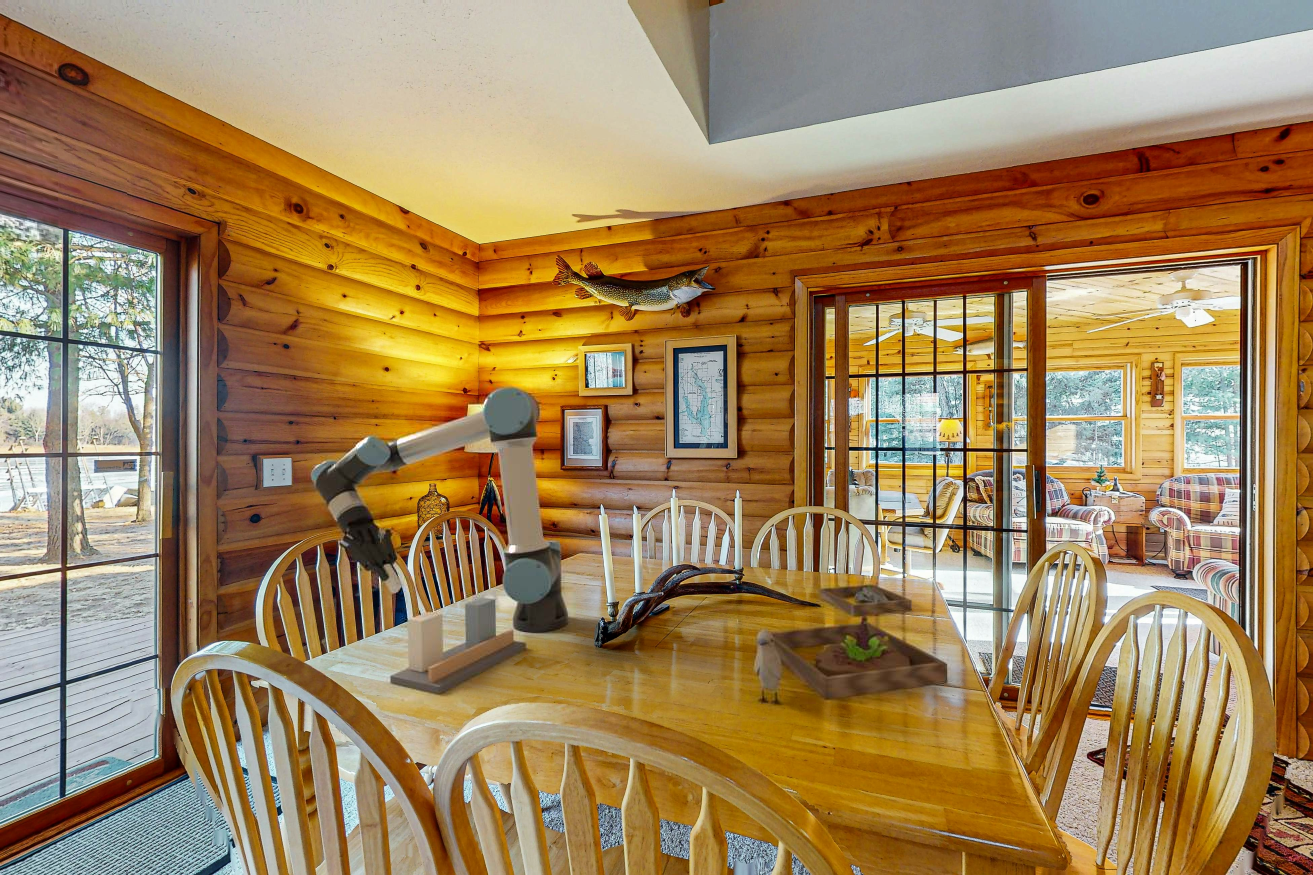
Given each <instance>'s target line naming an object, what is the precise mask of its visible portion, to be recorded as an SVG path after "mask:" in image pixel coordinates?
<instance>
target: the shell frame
mask: <svg viewBox="0 0 1313 875" xmlns="http://www.w3.org/2000/svg"><path fill="white" fill-rule="evenodd" d="M868 586H870V587H872V588H874V589H875V590H877V591H878V592H879V593H881V594H882V595H884V596H885V597H886V598H887V599H888V600H889V601H886V602H875V603H865V604H863V603H858V604H857V603H852V602H850V601H849V600H847V599H844V598H850V597H855V595H856V594H857V592H860V591H862V590H863V587H868ZM818 599H819V600H821V601H822V602H825V603H826V604H829V605H831V606H832V607H834V608H836V609H839V610H840V611H842V612H844V613H846V614H848V615H850V616H852V617H859V616H860V617H863V616H871V615H872V616H873V615H879V614H889V613H898V612H911V611H912V599H909V598H907V597H905V596H902V595H899V594H898V593H894V591H893V592H892V591H890V590H888V589H885V588H883V587H880V586H877V585H875V584H873V583H871V584H860V585H848V586H837V587H826V588H818Z"/></svg>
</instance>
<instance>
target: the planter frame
mask: <svg viewBox="0 0 1313 875" xmlns="http://www.w3.org/2000/svg"><path fill="white" fill-rule="evenodd" d="M860 625H861V622H859V623H857V622H856V623H849V624H848V623H847V624H839V625H837V624H836V625H828V626H819V627H811V628H810V627H809V628H808V627H807V628H799V629H789V630H781V631H772V632H771V631H769V632H770V633H771V634H772V635H773V641H774V647H775V649H776V651H777V653H778V655H779V658H780V660H781V665H782V666H784V667H786V668H787V669H788V670H789V671H790V672H791V673H793V675H795V676H797V678H798V679H800V680H801V681H803V683H805V684H806V685H807V686H808V687H810V689H811V690H813V691H815V692H816V693H817V694H818V695H819V696H820V697H821V698H822V699H824V700H827V701H828V700H835V699H839V698H840V699H841V698H848V697H853V696H854V697H855V696H861V695H863V696H864V695H869V694H877V693H884V692H891V691H897V690H904V689H910V688H911V689H912V688H922V687H926V686H933V685H941V684H947V683H948V662H945V661H943V660H942V659H940V658H938V657H935V656H933V655H932V654H930V653H928V652H926V651H924V650H922V649H920V648H918V647H916V646H914V645H912V644H910V643H909V642H906V641H905V640H902V639H901V638H900V637H897V636H895V635H894V634H892V633H889V632H887V631H885V630H883V629H881V628H880V627H877V626H876V625H874V624H871V623H870V622H869V621H868V622H867V623H864V627H865V629H864V630H865V634H866V637H868V636H870V635H871V634H873V633H876V632H877V633H882V634H885V635H886V636H887V637H888V642H883V641H882V637H881V636H880V635H878V636H874V637H876V638H877V640H879V644H878V645H877V646H879V647H882V646H888V647H887V648H890V649H894V650H896V651H898V652H900V653H903V654H905V655H907V656H909V658H910V664H911V666H906V667H898V668H891V669H883V670H875V671H867V672H859V673H852V674H844V675H836V676H828V677H827V676H826V675H824V674H823V673H822V672H820V671H819V670H818V668H817V667H816V666H814V665H812V664H811V663H809V662H808V661H807V660H806V659H804V658H803V657H802V656H801V655H799V654H798V653H797V652H795V651H794V650H792V649H795V648H796V649H797V648H798V649H799V648H806V647H814V646H822V645H823V646H824V645H832V644H836V643H840V642H845V639H846V640H847V638H846V636H847V635H848V636H850V635H851V634H852V633H853V632H854V631H858V632H859V633H860V628H861V627H860ZM855 639H857V635H856V634H855Z"/></svg>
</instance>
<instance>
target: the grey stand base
mask: <svg viewBox="0 0 1313 875" xmlns="http://www.w3.org/2000/svg"><path fill="white" fill-rule="evenodd" d="M514 639H515V638H514V629H508V630H506V631H504V632H502V633H500V634H496V636H495V637H493V638H491V639H489V640H487V641H484V642H482V643H480V644H478V645H476V646H474V647H471V648H469V649H467V650H466V641H465V642H463V643H461V644H459V645H456V646H455V647H454V646H453V647H452V648H450V649H448V650H445V651H443V661H441V662H439V663H437V664H435V665H433V666H430V667H428V670H426V671H424V672H419V671H414V670H409V667H407V668H405V669H402V670H400V671H399V672H396V673H394V674H391V675H390V677H389V678H390V684H394V685H397V686H402V687H405V688H410V689H415V690H419V691H423V692H426V693H427V692H428V693H431V694H435V695H441V694H443V693H445V692H447V691H448V690H450V689H452V688H454V687H456V686H458V685H460V684H462V683H464V682H465V680H466V681H468V680H469V679H471V678H473V677H475V676H477V675H479V674H480V672H481V673H483V672H484V670H485V671H487V670H488V669H491V668H492V667H494V666H496V665H498V664H500V663H502V662H504V661H505V660H507V659H509V658H511V657H513V656H515V655H517V654H519V653H521V652H523V651H524V650H526V649H527V642H525V641H520V640H514ZM486 669H487V670H486ZM482 671H483V672H482ZM478 673H479V674H478ZM476 674H477V675H476ZM474 675H475V676H474ZM472 676H473V677H472ZM467 679H468V680H467ZM463 681H464V682H463ZM461 682H462V683H461ZM459 683H460V684H459Z"/></svg>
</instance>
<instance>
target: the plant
mask: <svg viewBox="0 0 1313 875" xmlns="http://www.w3.org/2000/svg"><path fill="white" fill-rule="evenodd" d="M867 622H868V623H869V618H868V617H867V615H862V616H861V621H860V623H861V625H860V627H861V628H860V633H859V632H858V631H854V632H853V633H852V634H851V635H850V636H848V635H847V636H846V638H847V640H846V639H845V642H840V643H833V644H828V646H827V647H826V648H825V649H824V651H822V652H818V653H816V656H815V657H814V659H815V660H814V662H815V664H814V665H815V666H814V667H815V668H816V669H818V670H819V671H820V672H822V673H823V674H824V675H826V676H827V677H828V676H836V675H844V674H852V673H859V672H867V671H875V670H883V669H891V668H898V667H906V666H912V665H911V664H910V658H909V656H907V655H905V654H903V653H900V652H898V651H896V650H894V649H890V648H887V647H888V646H882V647H879V646H877V645H878V644H879V640H877V638H876V637H874V636H878V635H880V636H881V637H882V641H883V642H888V637H887V636H886V635H885V634H882V633H877V632H876V633H873V634H871V635H870V636H868V637H866V634H865V630H864V629H865V627H864V623H867ZM855 634H856V635H857V639H855Z"/></svg>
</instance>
